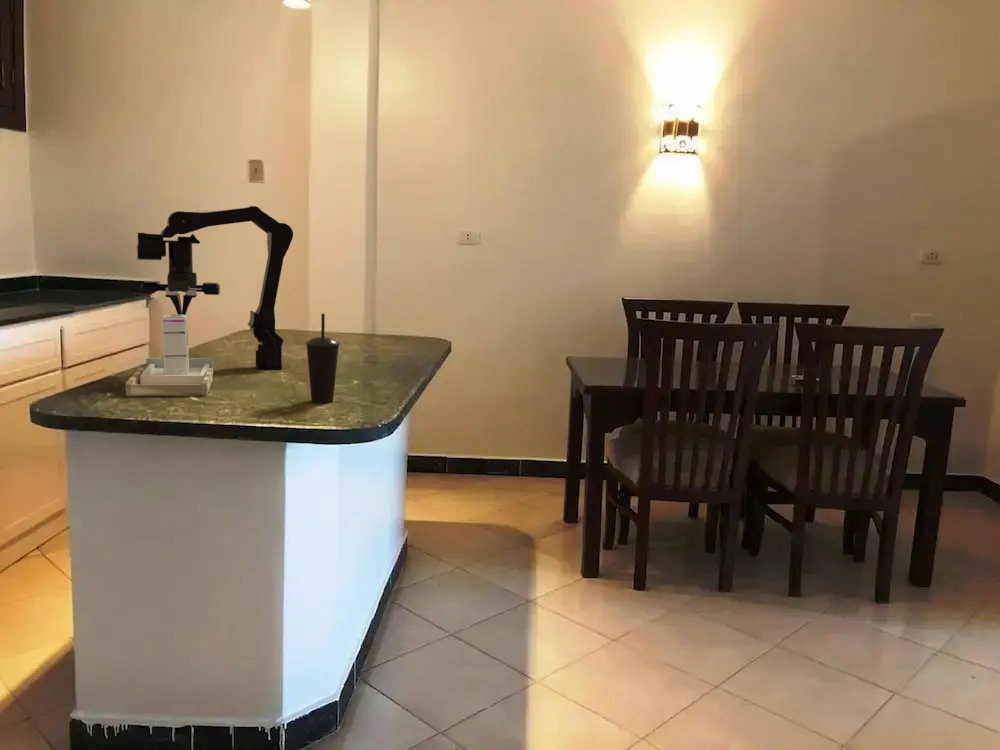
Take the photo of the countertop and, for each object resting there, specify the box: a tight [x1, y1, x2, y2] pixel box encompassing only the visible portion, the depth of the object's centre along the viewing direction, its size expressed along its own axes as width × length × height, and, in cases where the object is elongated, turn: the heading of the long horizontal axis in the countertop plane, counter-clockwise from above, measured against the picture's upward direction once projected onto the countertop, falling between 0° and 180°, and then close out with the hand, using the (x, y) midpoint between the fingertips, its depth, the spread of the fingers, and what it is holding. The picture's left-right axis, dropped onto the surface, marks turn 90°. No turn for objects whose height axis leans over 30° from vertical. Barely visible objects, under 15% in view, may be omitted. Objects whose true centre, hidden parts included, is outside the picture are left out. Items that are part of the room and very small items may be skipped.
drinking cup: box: [305, 313, 341, 404], centre depth 186 cm, size 8×8×20 cm
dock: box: [125, 367, 214, 397], centre depth 194 cm, size 19×17×3 cm
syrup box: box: [160, 313, 190, 375], centre depth 200 cm, size 6×6×14 cm
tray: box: [140, 357, 215, 384], centre depth 203 cm, size 18×16×3 cm
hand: (182, 321), depth 214 cm, fingers closed
